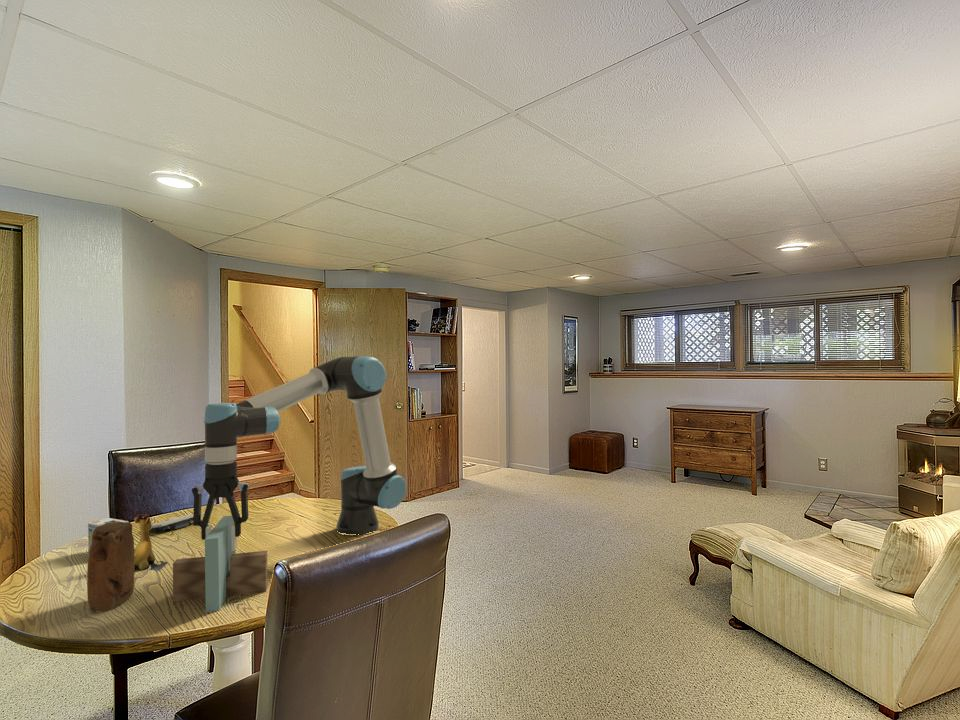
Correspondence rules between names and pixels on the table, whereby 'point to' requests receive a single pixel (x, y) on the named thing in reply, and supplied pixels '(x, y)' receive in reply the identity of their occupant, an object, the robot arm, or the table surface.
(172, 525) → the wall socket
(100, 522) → the light bulb box
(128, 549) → the block
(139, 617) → the table surface
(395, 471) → the robot arm
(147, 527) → the stuffed giraffe
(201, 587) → the walnut slotted board
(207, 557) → the teal slotted plate
